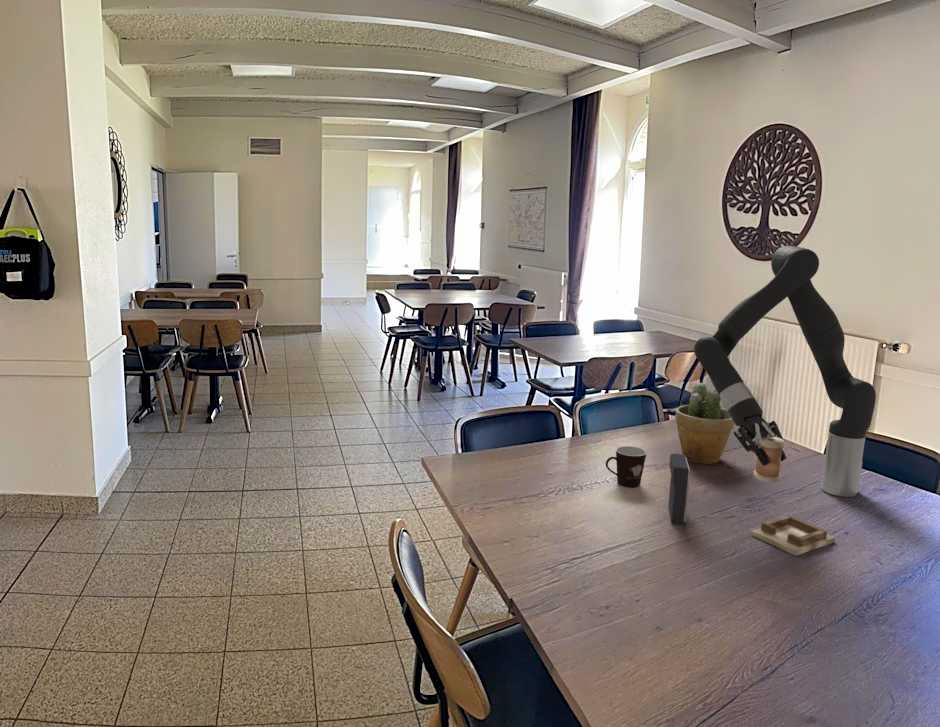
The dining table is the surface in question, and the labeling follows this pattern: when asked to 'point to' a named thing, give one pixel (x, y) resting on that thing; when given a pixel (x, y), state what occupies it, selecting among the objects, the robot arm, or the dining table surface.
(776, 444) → the bobbin
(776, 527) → the board
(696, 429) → the potted plant
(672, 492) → the calculator
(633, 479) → the coffee mug
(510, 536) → the dining table surface
